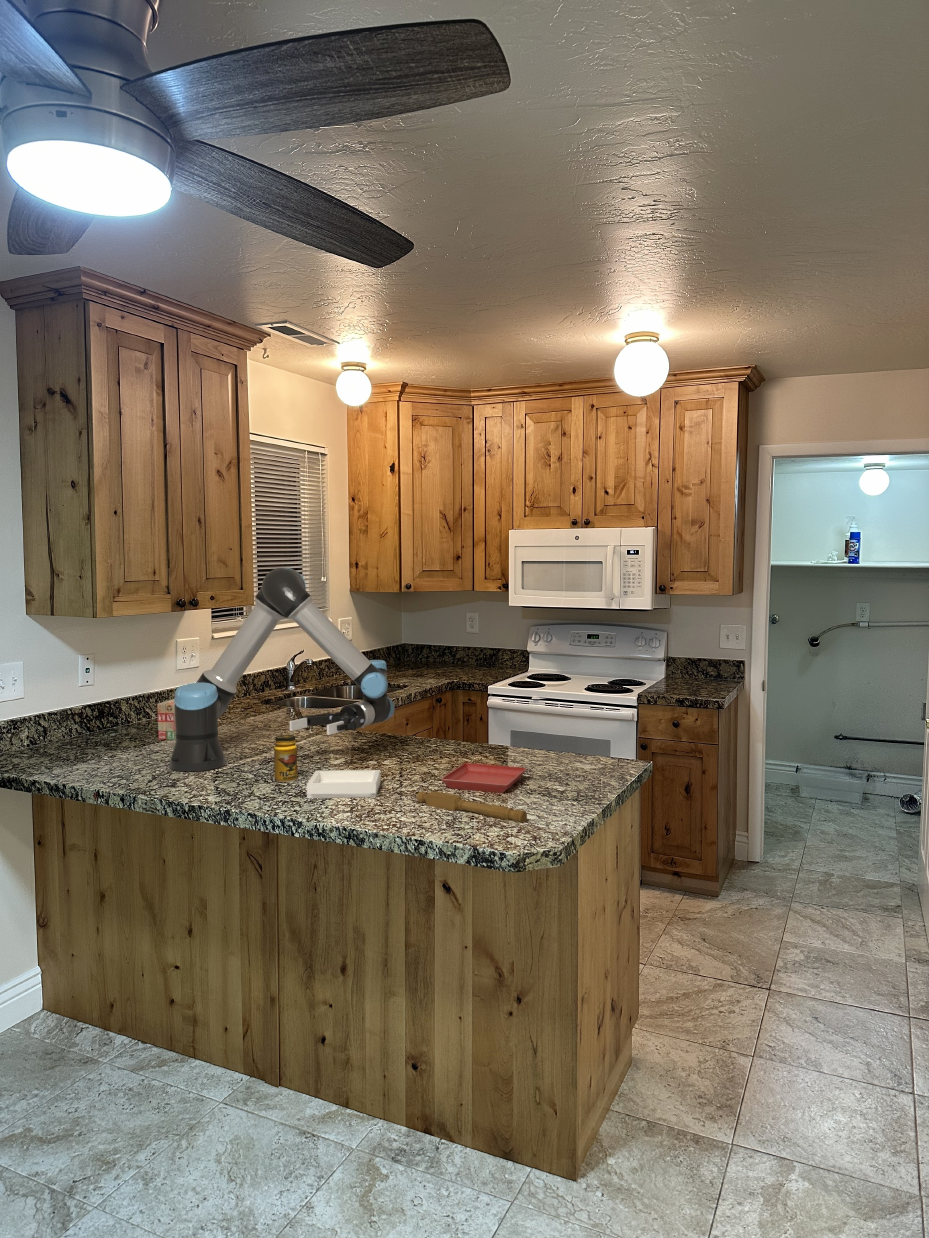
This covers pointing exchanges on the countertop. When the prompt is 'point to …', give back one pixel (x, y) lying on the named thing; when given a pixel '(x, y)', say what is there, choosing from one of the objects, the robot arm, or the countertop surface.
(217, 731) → the robot arm
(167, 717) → the stack of blocks
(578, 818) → the countertop surface
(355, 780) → the tray
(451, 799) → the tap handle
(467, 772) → the plant saucer
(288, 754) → the condiment
